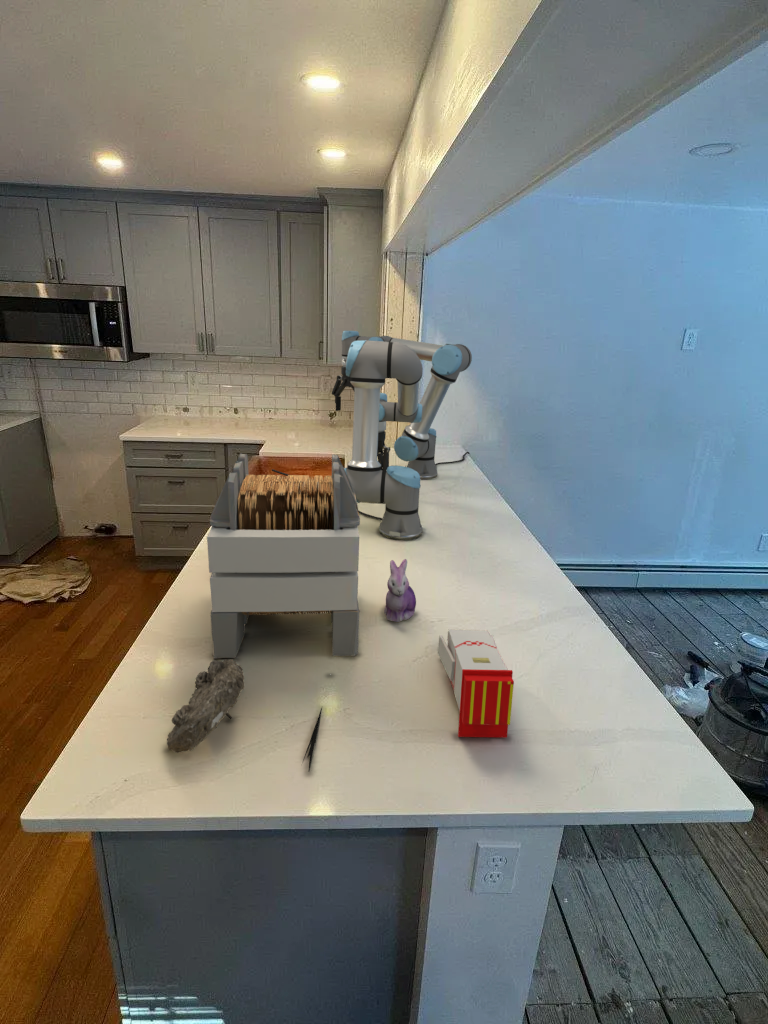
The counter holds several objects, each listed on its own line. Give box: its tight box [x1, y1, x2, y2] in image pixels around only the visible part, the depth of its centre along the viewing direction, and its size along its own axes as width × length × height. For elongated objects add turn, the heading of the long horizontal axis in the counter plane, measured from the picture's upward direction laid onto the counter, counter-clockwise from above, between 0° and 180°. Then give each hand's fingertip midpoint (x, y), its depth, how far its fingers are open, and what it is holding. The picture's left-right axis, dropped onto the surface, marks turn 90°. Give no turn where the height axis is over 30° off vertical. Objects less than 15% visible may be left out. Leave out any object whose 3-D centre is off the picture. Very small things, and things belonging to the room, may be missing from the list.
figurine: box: [384, 558, 417, 623], centre depth 145 cm, size 9×10×15 cm
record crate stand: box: [206, 452, 361, 660], centre depth 135 cm, size 34×33×41 cm
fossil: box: [166, 658, 245, 754], centre depth 106 cm, size 22×10×15 cm
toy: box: [437, 628, 515, 738], centre depth 117 cm, size 12×13×30 cm
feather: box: [301, 673, 332, 771], centre depth 108 cm, size 2×28×2 cm
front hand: (374, 483), depth 244 cm, fingers closed on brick, 6 cm apart
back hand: (348, 412), depth 266 cm, fingers open, 13 cm apart
